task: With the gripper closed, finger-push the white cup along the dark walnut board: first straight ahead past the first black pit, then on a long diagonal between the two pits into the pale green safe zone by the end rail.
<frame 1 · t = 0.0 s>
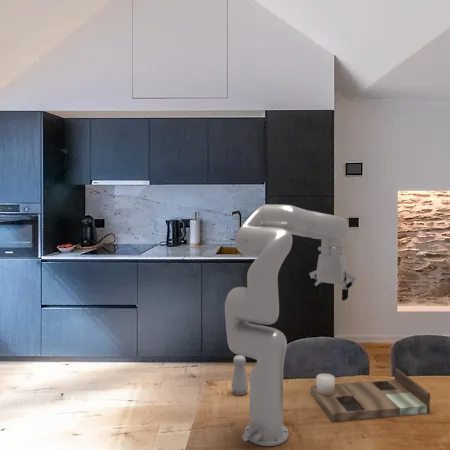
hand: (331, 298, 167), 31 cm above the table, tool pointing down, fingers open, 9 cm apart
salt shaker: (239, 393, 161), on the table
board: (367, 402, 152), on the table
white cup: (325, 391, 155), point 2 cm above the table, touching board
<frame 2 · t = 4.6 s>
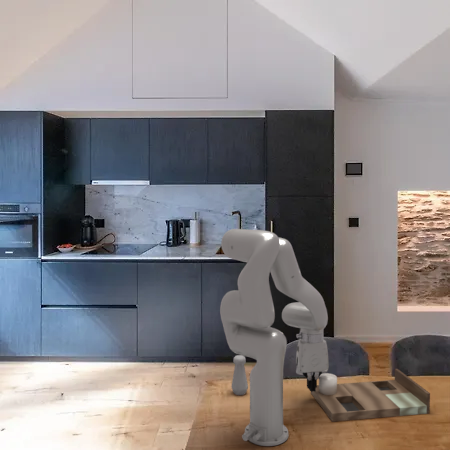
hand: (311, 389, 155), 3 cm above the table, tool pointing down, fingers closed
white cup: (327, 391, 155), point 3 cm above the table, touching gripper
everything else where it was.
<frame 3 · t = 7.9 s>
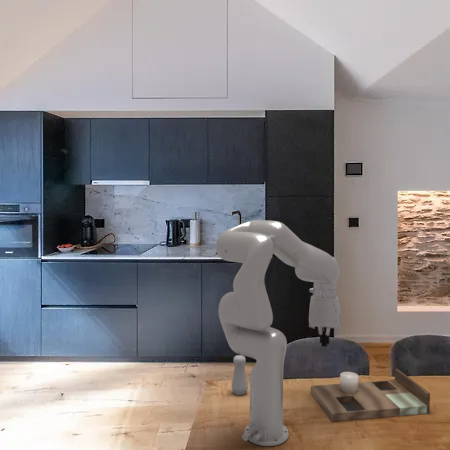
hand: (324, 345, 158), 17 cm above the table, tool pointing down, fingers closed
white cup: (349, 389, 157), point 2 cm above the table, touching board
everything else where it was.
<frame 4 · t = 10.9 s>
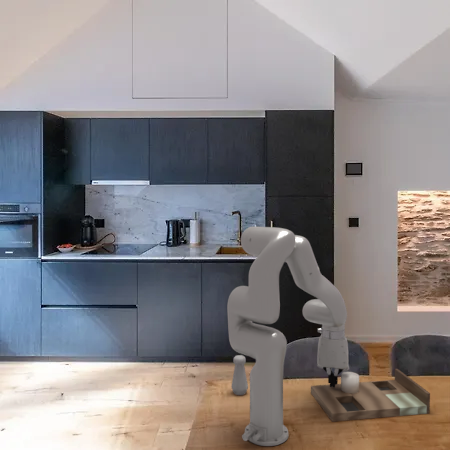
hand: (332, 385, 158), 3 cm above the table, tool pointing down, fingers closed
white cup: (349, 389, 157), point 2 cm above the table, touching board, gripper
everything else where it was.
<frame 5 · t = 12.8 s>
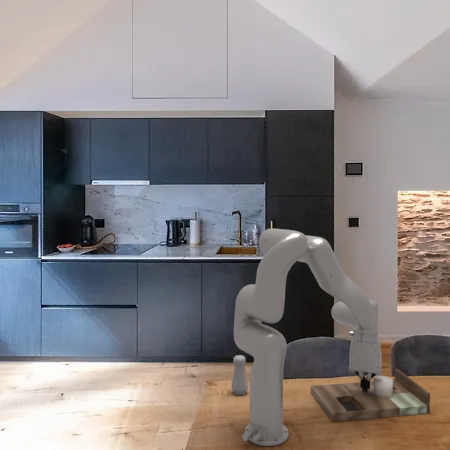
hand: (365, 390, 154), 3 cm above the table, tool pointing down, fingers closed
white cup: (382, 394, 153), point 2 cm above the table, touching board, gripper
everything else where it was.
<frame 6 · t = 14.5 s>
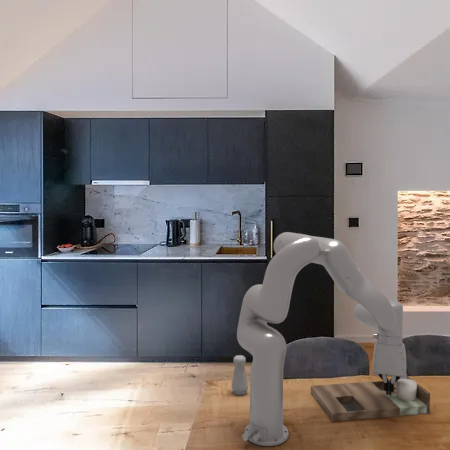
hand: (388, 393, 151), 3 cm above the table, tool pointing down, fingers closed
white cup: (406, 397, 151), point 2 cm above the table, touching board, gripper
everything else where it was.
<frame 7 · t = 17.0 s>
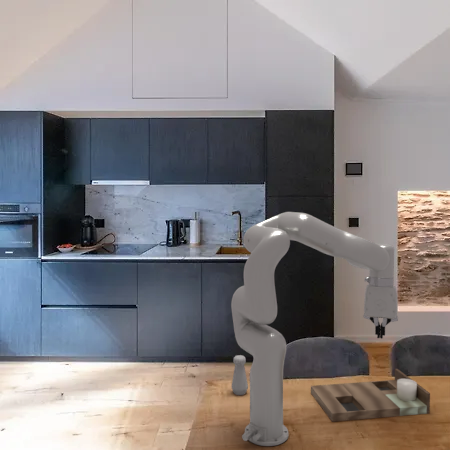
hand: (380, 337, 151), 22 cm above the table, tool pointing down, fingers closed
white cup: (406, 397, 151), point 2 cm above the table, touching board
everything else where it was.
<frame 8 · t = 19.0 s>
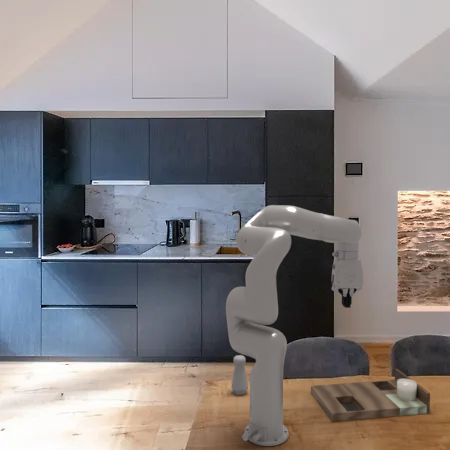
hand: (346, 306, 162), 29 cm above the table, tool pointing down, fingers closed
nothing on the table moved.
at the end: white cup inside the target area on the board (1.4 cm from its centre), point 2.5 cm above the board's base; white cup tilted 0° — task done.
